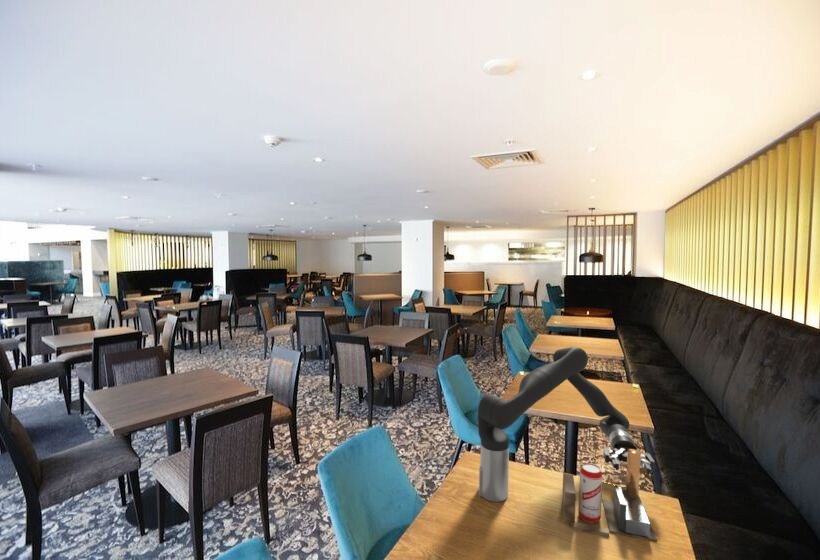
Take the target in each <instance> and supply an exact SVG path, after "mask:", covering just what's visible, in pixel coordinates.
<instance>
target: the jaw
mask: <svg viewBox="0 0 820 560" xmlns="http://www.w3.org/2000/svg"><path fill="white" fill-rule="evenodd" d="M641 454H642V452H640V451H639V450H638V449H637V450H635V449H628V453H627V462H626V472H625V473H626V476H625V489H623V488H622V487H621V486H618V485H614V491H613V492H614V493H613V494H614V495H613V501H614V514H615V517H616V521H617V525H618V528H619V530H622V531H625V532H626V533H631V534H636V535H641V536H646V537H649V533H650V523H651V521H650V522H649V520H650V519H649V520H648V518H649V516H648V517H647V515H648V514H647V515H646V513H647V511H646V512H645V510H646V509H645V510H644V508H645V506H644V505H643V503H642V499H641V496H640V495H639V494H640V491H639V490H640V474H641V467H640V460H641ZM643 506H644V507H643Z"/></svg>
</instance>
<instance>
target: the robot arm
mask: <svg viewBox="0 0 820 560" xmlns="http://www.w3.org/2000/svg"><path fill="white" fill-rule="evenodd" d="M552 360H553V362H550V363H547V364H544V365H542V366H539V367H537V368H535V369H533V370H532V371H530V372H528V373H527V374H525V376H523V378H522V379H521V380H520V383H519V388H518V392H517V394H516V395H514V396H513V397H511V398H508V399H504V398H502V397H499V396H497V395H494V394H492V393H487V394H485V395H484V396H482V398H481V399H480V400H479V404H478V409H477V425H478V426H477V427H478V437H479V439H480V462H479V468H478V469H479V471H478V497H482V498H483V499H485V500H487V501H490V502H494V503H499V502H503V501H505V500H507V499H508V497H509V472H510V471H509V469H510V467H509V466H510V462H509V461H510V437H509V435H508V434H507V432H505V431H504V430H505V429H508V428H510V427H511V426H512V425H513V424H515V422H517V420H518V419H519V418H520V417H521V416H522V415H523V414H525V412H526V411H528V410H529V409H530V408H532V406H534V405H535V404H536V403H537V402H539V401H540V400H542V399H544V398H545V397H546V396H548V395H549V394H550V393H551V392H552V391H554V390H555V389H556V388H558V387H559V386H560V385H561V384H562V383H564V382H565V381H566V380H567V381H568V383H570V384H571V385H572V386H573V387H574V389H576V390H577V391H578V393H579V394H580V395H581V396H582V397H583V398H584V400H585V401H586V403H587V404H588V405H589V407H590V408H591V410H592V411H593V412H594V413H595V414H594V415H596V416H598V417H601V419H600V421H599V423H598V424H599V429H600V430H601V432H602V433H603V434H604V435H605V436H606V437H608V439H609V445H610V447H611V449H610V448H608V446H604V447H603V456H604V462H605V463H611V465H612V468H614V469H615V470H616V471H619V469H620V464H621V463H627V453H628V449H635V450H638V449H637V446H636V445H635V442H634V440H633V438H632V436H631V435H630V433H629V431H628V429H630V426H631V424H630V421H629V419H628V418H627V417H626V416H625V414H623V413H622V412H621V411H619V410H618V409H617V408H616V407H614V405H613V404H612V403H611V401H609V399H608V398H607V396H606V395H605V393H604V392H603V391H602V390H601V389H600V388H599V387H598V385H596V384H594V383H593V382H591V381H589V380H588V379H587V378H586V377H584V375H582V374H581V373H580V372H582V371H583V370H585V369H586V367H587V365H588V361H589V358H588V354H587V352H586V351H585V350H584V349H582V348H581V347H579V346H569V347H566V348H565V347H564V348H561V349H560V348H559V349H557V350H556V351H554V353H553V356H552ZM602 417H603V418H602ZM640 468H643V471H644V472H645V475H647V476H650V474H652V470H655V460H654V458H653V457H652V455H651V454H650V453H649V452H645V454H642V453H641V460H640Z"/></svg>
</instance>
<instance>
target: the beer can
mask: <svg viewBox="0 0 820 560" xmlns="http://www.w3.org/2000/svg"><path fill="white" fill-rule="evenodd" d="M602 492H603V473H602V469H601V467H600V466H598V465H597V464H594V463H590V462H588V463H587V462H586V463H583V464H582V465H581V468H580V470H579V484H578V506H577V509H578V510H577V511H578V515H579V517H580V518H581V520H583V521H585V522H587V523H588V524H589V523H590V524H594V523H597V522H599V521H600V520H601V518H602V517H601V516H602V499H603V497H602V494H603V493H602Z"/></svg>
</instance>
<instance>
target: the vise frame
mask: <svg viewBox="0 0 820 560" xmlns="http://www.w3.org/2000/svg"><path fill="white" fill-rule="evenodd" d="M561 491H562V495H561V497H562V498H561V506H562V516H563V523H564V524H567V525H570V528H571V530H573V531H574V530H575V531H579V532H585V533H589V534H594V535H599V536H603V537H609V538H610V533H612V534H616V535H617V534H618V535H623V536H627V537H633V538H637V539H642V540H647V541H652V542H658V538H657V536H656V534H655V531H654V529H653V525H652V522H651V521H650V518H649V516H648V512H647V510H646V508H645V506H644V505H643V507H644V510H645V512H646V515H647V517H648V520H649V522H650V533H649V537H646V536H641V535H636V534H631V533H626V532H625V531H622V530H619V528H618V525H617V521H616V517H615V514H614V500H612V499H605V498H601V502H602V504H603V509H604V512H605V513H604V514H605V517H606V521H607V525H608V528H607V527H602V526H596V525H591V524H585V523H581V522H576V500H577V497H576V496H577V491H576V485H575V477H574V474H572V473H564V472H563V473H562V490H561Z"/></svg>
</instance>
